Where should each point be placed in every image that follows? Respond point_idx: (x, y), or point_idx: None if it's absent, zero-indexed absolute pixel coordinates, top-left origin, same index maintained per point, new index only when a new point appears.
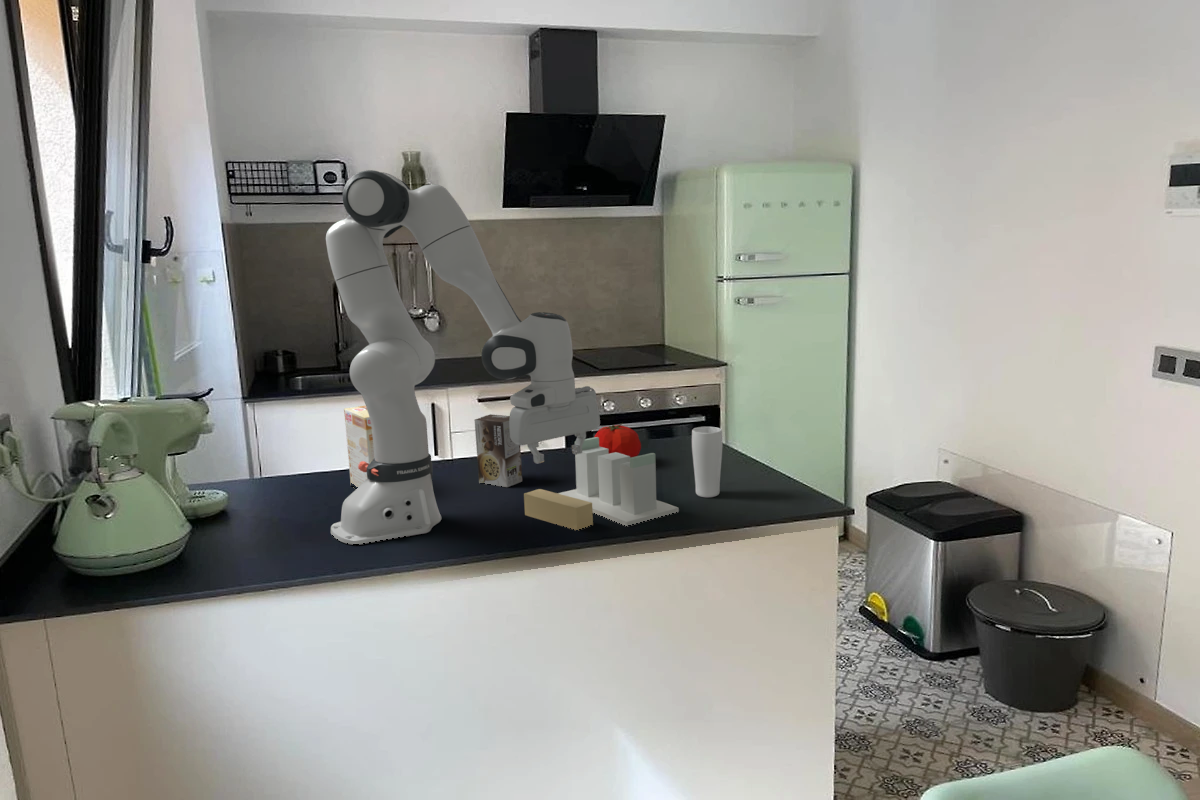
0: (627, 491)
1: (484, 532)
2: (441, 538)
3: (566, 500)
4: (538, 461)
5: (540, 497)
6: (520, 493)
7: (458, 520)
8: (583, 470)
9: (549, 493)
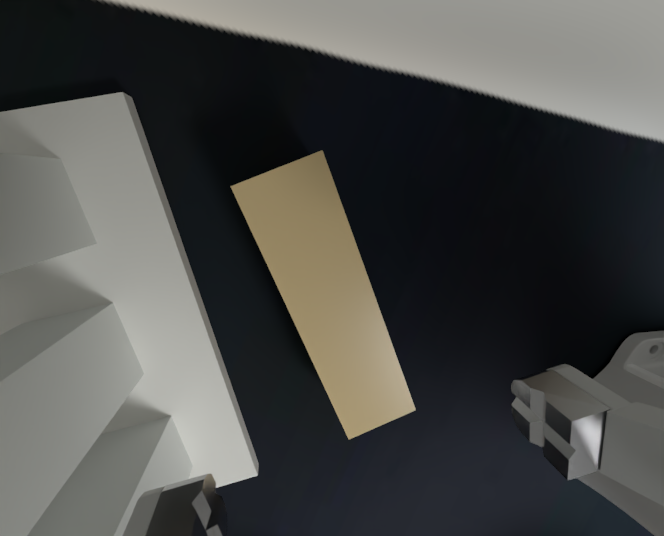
0: (3, 204)
1: (532, 280)
2: (624, 287)
3: (317, 271)
4: (574, 370)
5: (387, 347)
6: (331, 524)
7: None
8: None
9: (340, 378)
